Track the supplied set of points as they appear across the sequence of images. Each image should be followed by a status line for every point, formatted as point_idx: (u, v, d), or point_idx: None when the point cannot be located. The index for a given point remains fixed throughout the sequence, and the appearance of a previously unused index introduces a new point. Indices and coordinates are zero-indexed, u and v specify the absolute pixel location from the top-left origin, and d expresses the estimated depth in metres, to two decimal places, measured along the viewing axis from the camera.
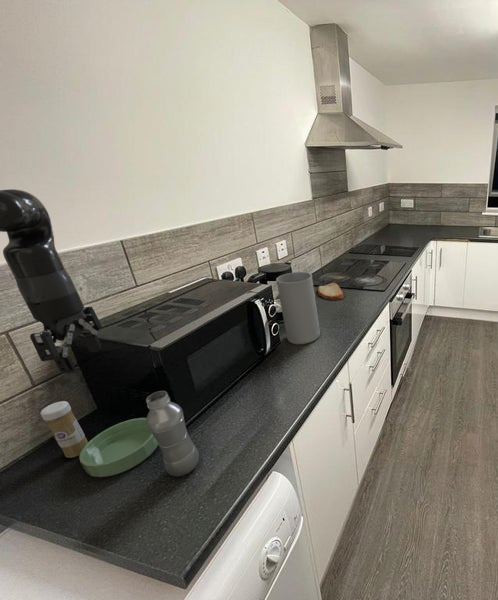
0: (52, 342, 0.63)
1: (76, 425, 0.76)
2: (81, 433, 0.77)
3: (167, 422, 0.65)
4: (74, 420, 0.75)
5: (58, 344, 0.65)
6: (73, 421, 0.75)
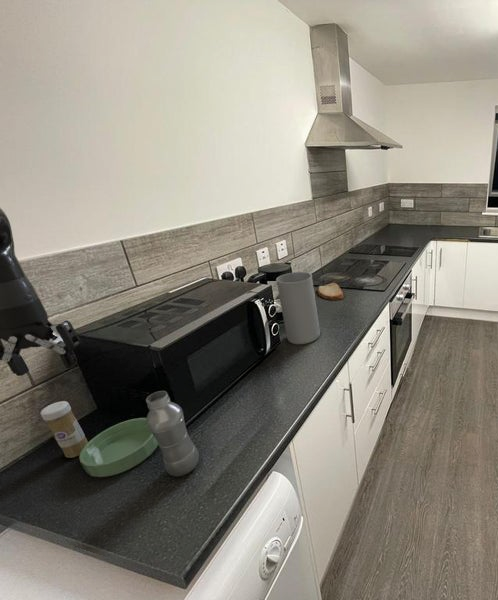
0: None
1: (76, 425, 0.76)
2: (81, 433, 0.77)
3: (167, 421, 0.65)
4: (74, 420, 0.75)
5: None
6: (73, 421, 0.75)
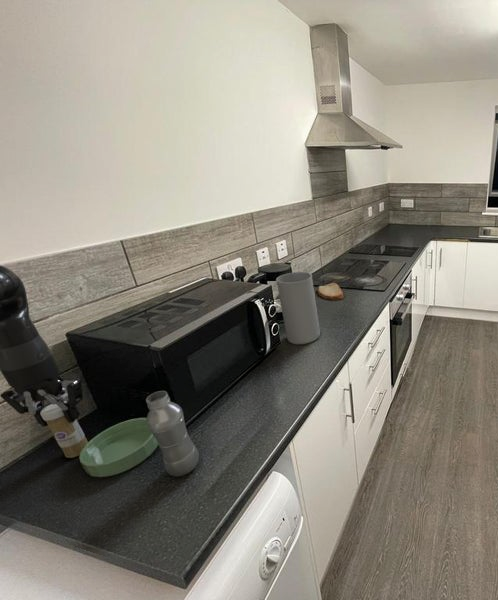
0: (11, 401, 0.69)
1: (76, 425, 0.76)
2: (81, 433, 0.77)
3: (167, 421, 0.65)
4: None
5: None
6: None
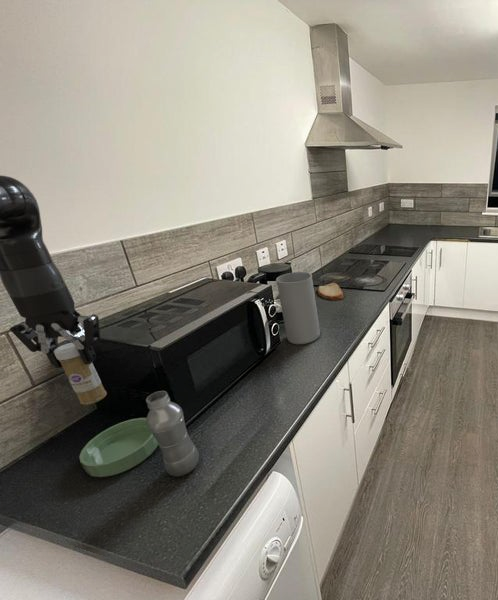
0: (22, 336, 0.62)
1: (92, 369, 0.69)
2: (97, 378, 0.70)
3: (167, 421, 0.65)
4: None
5: None
6: (89, 364, 0.68)
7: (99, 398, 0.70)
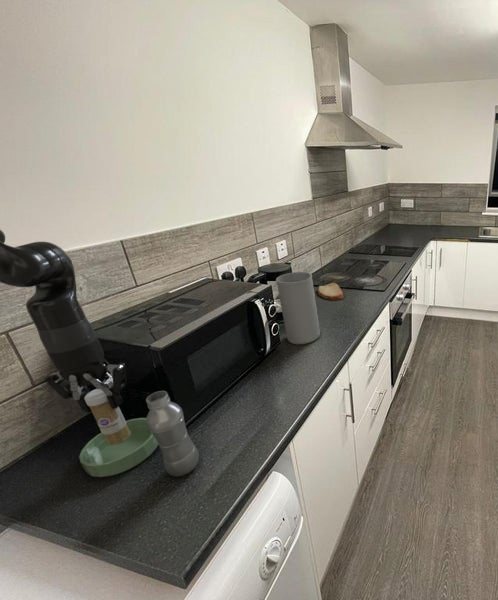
0: (56, 385, 0.67)
1: (119, 412, 0.73)
2: (123, 420, 0.74)
3: (167, 421, 0.65)
4: None
5: None
6: None
7: (124, 438, 0.75)
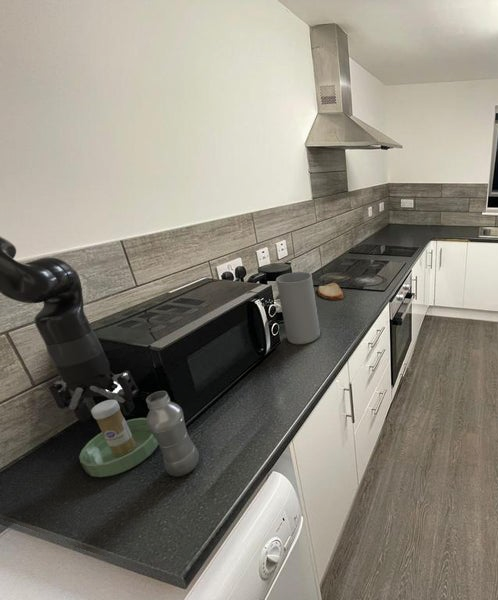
0: (57, 394, 0.67)
1: (124, 424, 0.75)
2: (129, 432, 0.76)
3: (167, 421, 0.65)
4: (122, 419, 0.74)
5: None
6: (122, 420, 0.74)
7: (130, 450, 0.76)
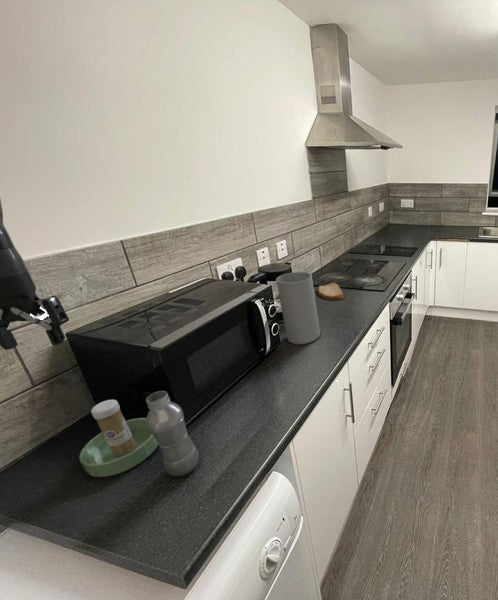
0: None
1: (124, 424, 0.75)
2: (129, 432, 0.76)
3: (167, 421, 0.65)
4: (122, 419, 0.74)
5: None
6: (122, 420, 0.74)
7: (130, 450, 0.76)
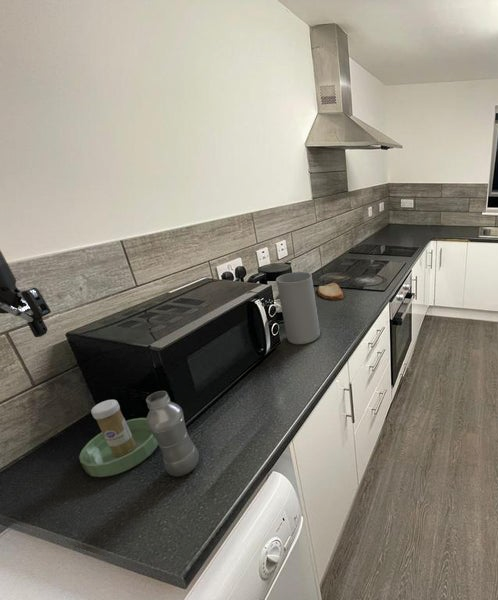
0: None
1: (124, 424, 0.75)
2: (129, 432, 0.76)
3: (167, 421, 0.65)
4: (122, 419, 0.74)
5: None
6: (122, 420, 0.74)
7: (130, 450, 0.76)
